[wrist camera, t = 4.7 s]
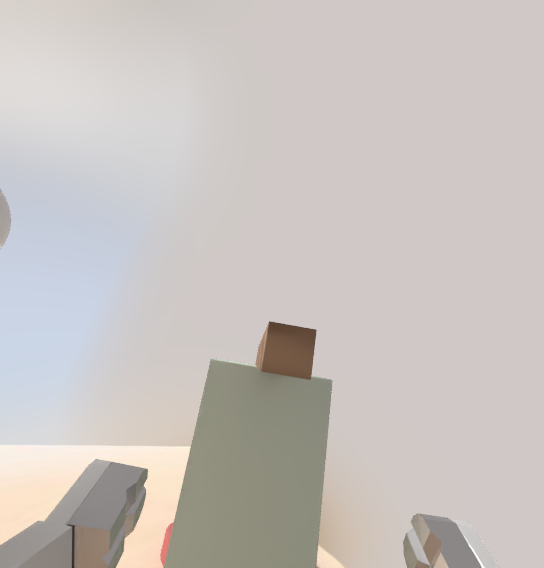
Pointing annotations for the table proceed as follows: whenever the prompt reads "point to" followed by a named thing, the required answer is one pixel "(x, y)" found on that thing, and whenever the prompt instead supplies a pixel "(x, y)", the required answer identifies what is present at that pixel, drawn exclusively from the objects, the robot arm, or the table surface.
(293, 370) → the rod
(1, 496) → the table surface
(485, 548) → the robot arm
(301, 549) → the pedestal
